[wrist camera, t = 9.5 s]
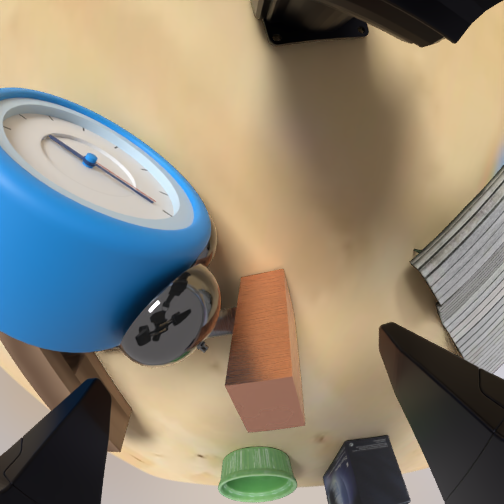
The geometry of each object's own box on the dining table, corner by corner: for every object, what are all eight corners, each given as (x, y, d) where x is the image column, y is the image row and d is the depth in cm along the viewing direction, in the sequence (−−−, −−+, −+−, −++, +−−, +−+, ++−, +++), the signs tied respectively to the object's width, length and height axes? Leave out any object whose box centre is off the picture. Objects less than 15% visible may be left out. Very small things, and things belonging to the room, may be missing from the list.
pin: (283, 268, 22) (292, 376, 13) (294, 314, 23) (305, 425, 14) (88, 306, 24) (29, 388, 15) (108, 342, 26) (62, 427, 17)
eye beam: (33, 227, 20) (-9, 256, 15) (131, 409, 28) (120, 451, 23) (2, 239, 20) (-37, 268, 15) (100, 410, 28) (87, 450, 23)
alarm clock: (57, 83, 16) (236, 203, 21) (19, 161, 17) (184, 270, 23) (-93, 92, 4) (269, 338, 9) (-114, 237, 6) (170, 428, 11)
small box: (341, 439, 32) (362, 513, 22) (389, 433, 32) (414, 499, 22) (319, 477, 36) (332, 538, 26) (361, 471, 36) (377, 528, 27)
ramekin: (285, 474, 35) (289, 501, 31) (217, 474, 34) (217, 501, 30) (299, 442, 31) (305, 473, 27) (219, 441, 30) (219, 473, 26)
